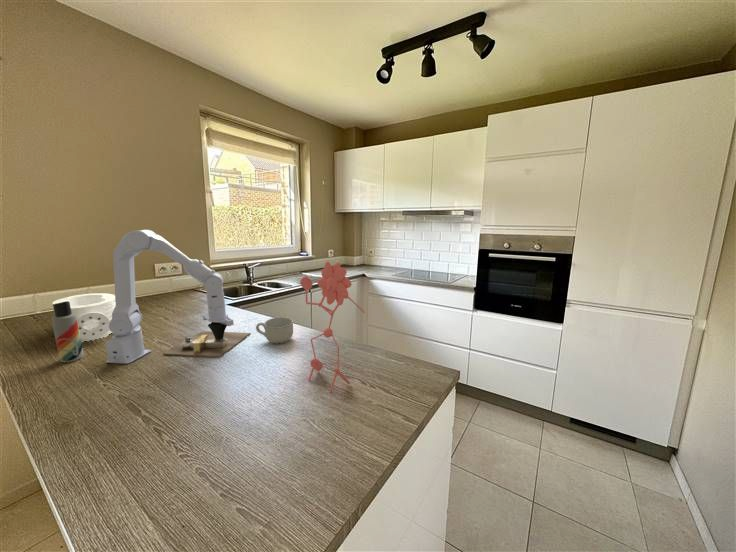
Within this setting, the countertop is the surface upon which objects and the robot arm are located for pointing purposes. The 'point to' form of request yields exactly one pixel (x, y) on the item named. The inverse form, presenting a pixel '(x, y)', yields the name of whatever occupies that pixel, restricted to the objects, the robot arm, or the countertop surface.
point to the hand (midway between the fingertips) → (219, 340)
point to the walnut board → (232, 341)
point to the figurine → (332, 289)
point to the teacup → (277, 329)
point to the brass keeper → (199, 344)
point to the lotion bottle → (66, 333)
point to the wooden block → (204, 343)
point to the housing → (92, 314)
